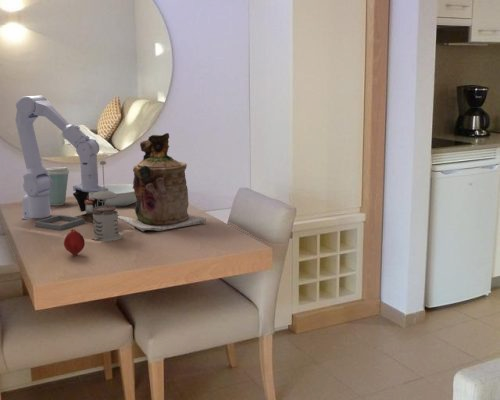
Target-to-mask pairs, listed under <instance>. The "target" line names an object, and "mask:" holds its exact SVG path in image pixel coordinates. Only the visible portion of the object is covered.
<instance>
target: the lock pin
mask: <svg viewBox="0 0 500 400" xmlns="http://www.w3.org/2000/svg"><path fill="white" fill-rule="evenodd" d="M84 204H85V208H86V211H85V213H86V217H93V213H94V212H96V211H95V210H94V208H95V207H96V203H95V200H94V198H90V197H89V199H85V200H84Z"/></svg>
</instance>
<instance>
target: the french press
mask: <svg viewBox="0 0 500 400" xmlns="http://www.w3.org/2000/svg"><path fill="white" fill-rule="evenodd" d="M106 164H107V162H106V160H100V161H99V165H100V166H104V165H106ZM102 181H103V183H102V186H103V185H105V172H104V168H102ZM116 197H117V194H115V193H114V192H111V191H106V190H103V191H99V192H96V193H94V194H93V195H92V198H94V199H99V202H102V206H100V207H99V206H98V201H97V207H95V208H94V210H95V211H96V212H94V213H93V222H92V223H93V236H94V237H96V239H95V238H91V240H93V241H95V242H112V240H113V241H117V240H119V239H122V237H123V235H122V234H121V233H120V231H119V218H118V217H119V216H118V215H119V214H118V211H117V207H115V206H108V205H106V206H103V202H104V205H105V199H113V198H116ZM100 200H102V201H100ZM103 200H104V201H103ZM101 212H103V215H101ZM94 220H95V221H94Z"/></svg>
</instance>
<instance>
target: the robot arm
mask: <svg viewBox="0 0 500 400" xmlns="http://www.w3.org/2000/svg"><path fill="white" fill-rule="evenodd" d="M15 108H16V114H15V115H16V116H15V125H16V128H17V134H18V138H19V141H20V146H21V152H22V155H23V160H24V164H25V169H26V170H25V172H24V174H23V176H22V177H23V184H22V186H23V190H24V192H25V193H26V194H24V196H22V201H21V202H22V203H21V204H22V205H21V206H22V217H21V219H23V220H30V219H46V218H50V217H51V215H52V213H51V205H50V198H49V193H50V189H51V187H52V179H51V178H50V176H49V175H48V171H47V170H46V168H45V167H44V166H43V163H42V158H41V154H40V153H41V152H40V149H39V146H38V145H39V144H38V140H37V137H36V132H35V128H34V122H35V121H36V120H37V118H38V117H44V118H46V119H47V120H49V122H51V123H52V124H53V125H54V126H56V127H57V128H58V129H59V130H60V131H61V132H62V137H63V138H64V139H65V140H66V141H67V142H68V143H70V145H72V146H73V147H74V148H75V149H76V150H75V151H76V154H77V155H78V157H79V161H80V176H81V177H80V178H81V183H82V185H81V184H73V185H72V189H73V190H72V191H73V193H72V195H73V196H74V198H75V200H76V202H78V203H77V205H78V204H79V205H78V207H79V210H80V212H83V213H84V212H86V208H85V204H84V200H85V199H87V194H88V192H92V193H96V192H99V191H103V190H106V191H108V188H104V187H100V186H101V185H99V170H98V154H99V152H100V145H99V143H98V142H97V140H96V139H93V138H90V136H89V135H86V134H85V133H84V132H83V131H82V130H81V127H80V126H79V125H76V124H70V122H68V121H67V120H66V119H65V118H64V117H63V116H62V115H61V113H59V112H58V110H56V108H55V107H54V106H53V105H52V103H51V101H49V100H48V99H47V98H46V97H45V96H43V95H41V94H38V95H29V96H28V95H25V96H24V95H23V96H21V97H20V98H19V99H18V100H17V102H16V104H15ZM94 200H95V203H96V207H97V201H98V206H99V207H100V206H102V202H99V199H94ZM100 201H102V200H100ZM103 201H104V200H103ZM105 201H106V199H105ZM103 206H104V202H103ZM101 213H102V212H101Z"/></svg>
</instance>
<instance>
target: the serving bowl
mask: <svg viewBox="0 0 500 400" xmlns="http://www.w3.org/2000/svg"><path fill="white" fill-rule="evenodd" d="M100 187H104V188H108V191H111V192H114V193H115V194H117V197H116V198H113V199H106V201H105V205H104V206H106V205H108V206H115V207H116V208H123V207H126V206H128V205H132V204H133V203H135V202H137V199H136V195H135V193H134V189H133V183H131V184H130V183H128V184H127V183H116V184H115V183H114V184H104V185H103V184H102V185H100ZM93 194H94V193H92V192H89V198H92V195H93Z"/></svg>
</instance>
